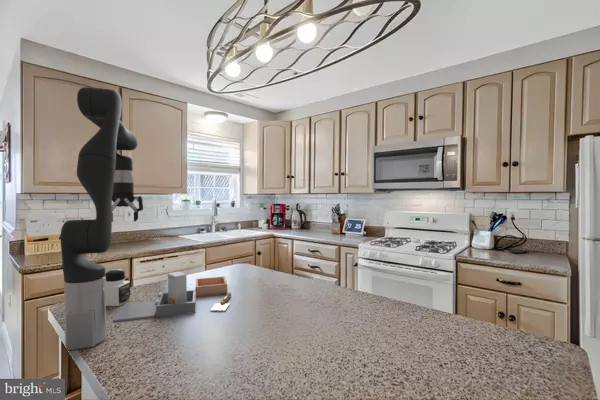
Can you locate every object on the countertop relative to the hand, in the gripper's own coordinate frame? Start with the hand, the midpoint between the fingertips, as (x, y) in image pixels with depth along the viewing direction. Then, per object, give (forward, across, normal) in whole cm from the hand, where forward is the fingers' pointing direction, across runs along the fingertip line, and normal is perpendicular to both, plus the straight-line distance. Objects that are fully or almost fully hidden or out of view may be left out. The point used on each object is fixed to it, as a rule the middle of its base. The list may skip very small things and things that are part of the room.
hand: (123, 221), depth 125 cm
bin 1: (+29, +15, -26) cm, 42 cm away
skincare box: (+29, +21, -26) cm, 44 cm away
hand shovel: (+29, +37, -28) cm, 55 cm away
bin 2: (+29, +34, -11) cm, 46 cm away
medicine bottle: (+29, 0, -13) cm, 32 cm away
